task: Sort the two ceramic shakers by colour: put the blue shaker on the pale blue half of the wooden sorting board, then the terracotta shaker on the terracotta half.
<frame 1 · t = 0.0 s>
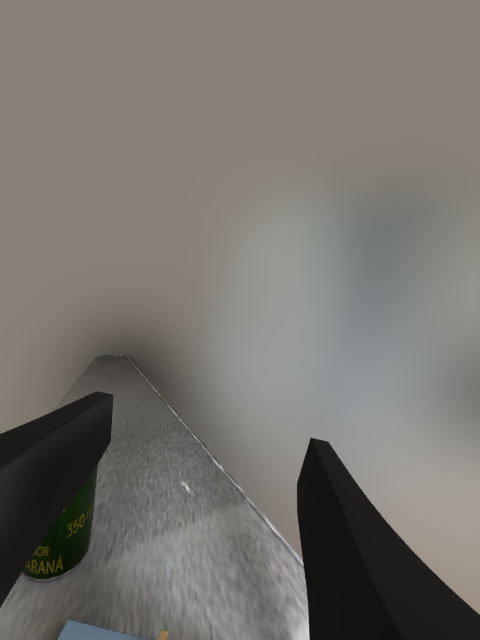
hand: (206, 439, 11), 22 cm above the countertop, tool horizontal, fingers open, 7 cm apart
green drink can: (55, 555, 27), on the countertop
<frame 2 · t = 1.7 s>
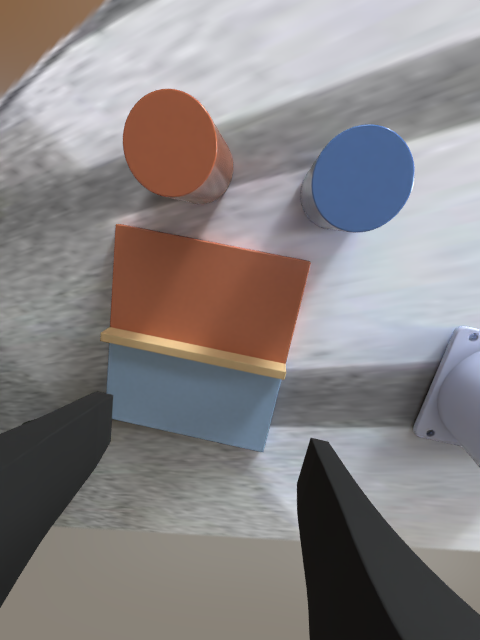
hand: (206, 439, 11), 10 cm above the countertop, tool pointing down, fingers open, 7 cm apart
terracotta shaker: (199, 167, 18), on the countertop
blue shaker: (336, 193, 18), on the countertop
sorting board: (198, 345, 21), on the countertop
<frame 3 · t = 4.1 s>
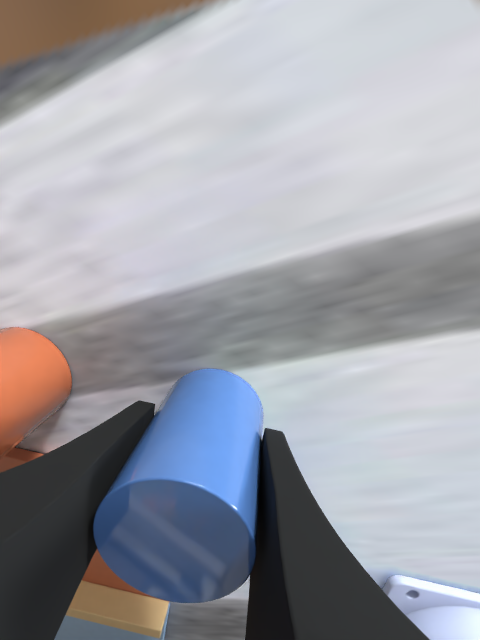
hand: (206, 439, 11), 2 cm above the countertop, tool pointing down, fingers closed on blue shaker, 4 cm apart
terracotta shaker: (26, 372, 13), on the countertop
blue shaker: (213, 413, 13), on the countertop, touching gripper
sorting board: (60, 564, 16), on the countertop
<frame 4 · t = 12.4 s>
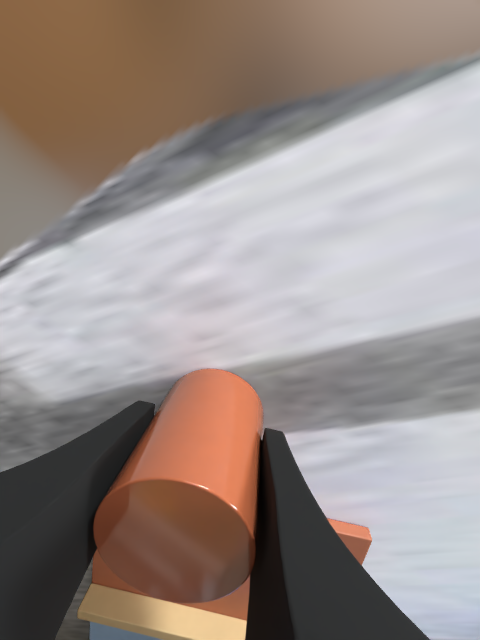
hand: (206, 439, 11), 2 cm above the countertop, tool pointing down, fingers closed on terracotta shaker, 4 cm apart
terracotta shaker: (213, 413, 13), on the countertop, touching gripper
sorting board: (210, 600, 16), on the countertop
when the fingers open (2 cm above the countertop, at t = 16.7 s): terracotta shaker stays where it is, resting on sorting board.
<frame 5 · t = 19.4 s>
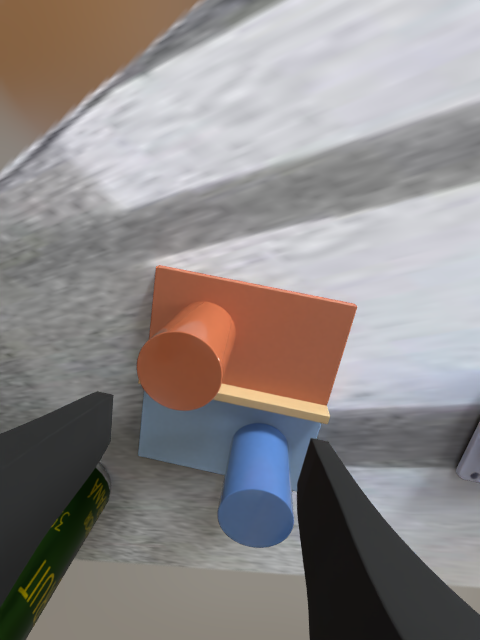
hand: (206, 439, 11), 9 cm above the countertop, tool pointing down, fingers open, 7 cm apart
green drink can: (83, 476, 25), on the countertop
terracotta shaker: (204, 332, 19), point 1 cm above the countertop, touching sorting board
blue shaker: (259, 447, 22), point 1 cm above the countertop, touching sorting board
sorting board: (235, 385, 21), on the countertop
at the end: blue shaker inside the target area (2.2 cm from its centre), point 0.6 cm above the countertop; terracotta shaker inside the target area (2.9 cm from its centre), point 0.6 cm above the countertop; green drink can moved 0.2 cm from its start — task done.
